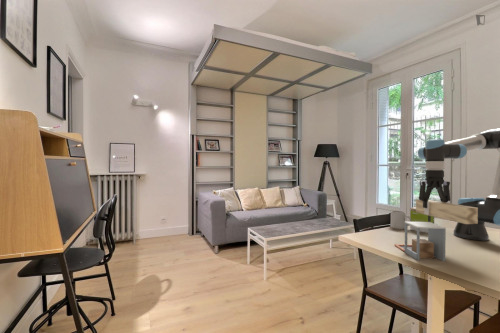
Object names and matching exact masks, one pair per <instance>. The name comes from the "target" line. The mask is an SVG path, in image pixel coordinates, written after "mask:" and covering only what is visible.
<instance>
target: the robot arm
mask: <svg viewBox="0 0 500 333" xmlns="http://www.w3.org/2000/svg"><path fill="white" fill-rule="evenodd" d="M425 143H426V144H425V145H424V146H421V147H420V148H419V149H418V150H417V155H418V157H419V159H421V160H425V169H426V170H425V180H419V194H418V200H421V201H423V208H424V214H426V215H429V207H430V202H428V200H430V197H431V195H432V191H433V190H434V189H435V190H436V192H437V195H438V197H439V200H440V202H445V203H449V202H450V201H451V192H450V190H451V189H450V184H451V182H450V181H446V180H444V177H445V170H444V169H445V160H446V159H456V160H457V159H463V158H464V157H465V156H466V155H467V154H468V151H472V150H475V151H478V150H479V151H480V150H481V151H482V150H495V149H496V151H498V153H500V127H498V128H492V129H488V130H485V131H482V132H478V133H473V134H471V135H470V136H469V137H464V138H463V137H462V138H459V139H458V138H457V139H455V140H451V141H450V140H449V141H446V142H445V140H444V139H441V138H440V139H439V138H437V139H428V140H426V142H425ZM491 187H492V188H491V193H490V194H489V195H487V196H486V197H485V198H484V197H460V198H458V199H457V203H456V204H457V205H463V206H469V207H476V208H478V224H463V223H459V222H456V225H455V226H454V229H453V236H456V237H458V238H461V239H467V240H474V241H489V240H488V239H489V237H490V235H489V234H488V232H487V228H486V226H485V225H486V224H485V223H487V224H491V225H496V226H500V155H499V157H498V161H497V166H496V170H495V174H494V178H493V183H492V186H491Z"/></svg>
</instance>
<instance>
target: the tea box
mask: <svg viewBox="0 0 500 333" xmlns="http://www.w3.org/2000/svg"><path fill="white" fill-rule="evenodd" d="M409 212H410V214H409V216H410V217H411V222H431V223H434V224H435V217H433V216H429V215H425V214H420V213H416V205H415V206H413V207H410V210H409ZM409 228H410V230H411V231H416V232H417V228H416V227H414V226H412V225H410V226H409ZM420 233H426V234H428V228H420Z"/></svg>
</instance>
